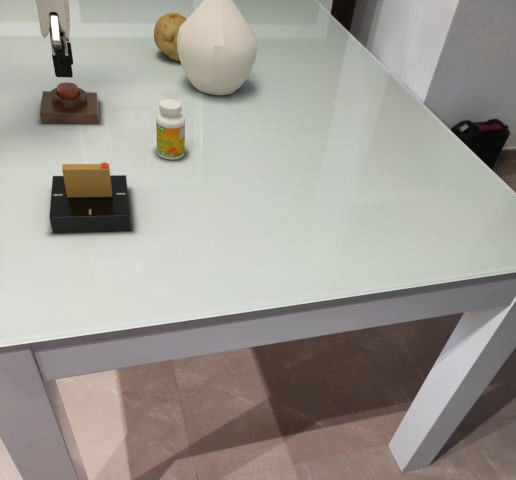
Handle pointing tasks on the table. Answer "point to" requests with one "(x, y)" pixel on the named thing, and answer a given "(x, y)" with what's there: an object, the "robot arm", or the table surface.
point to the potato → (168, 34)
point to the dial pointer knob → (87, 180)
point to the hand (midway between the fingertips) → (64, 69)
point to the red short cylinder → (67, 90)
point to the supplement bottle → (170, 130)
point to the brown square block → (69, 108)
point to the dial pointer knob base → (90, 209)
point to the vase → (216, 47)
